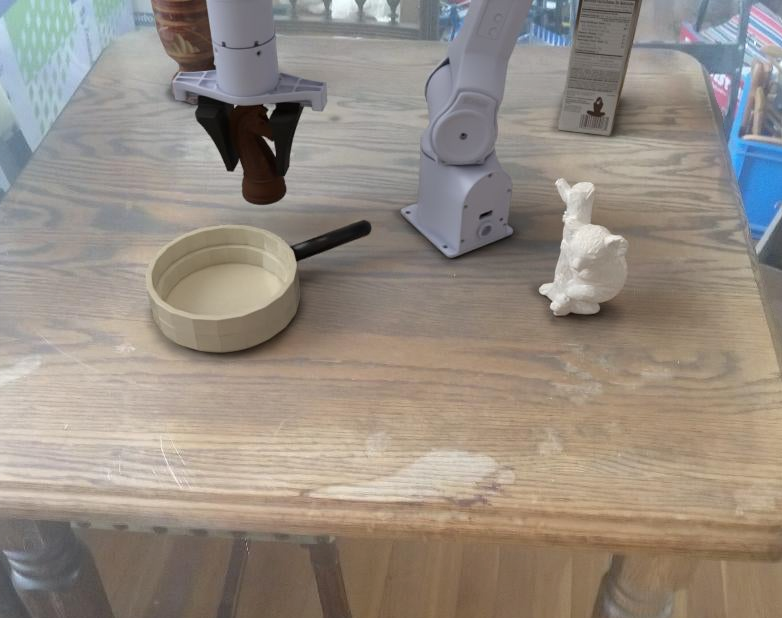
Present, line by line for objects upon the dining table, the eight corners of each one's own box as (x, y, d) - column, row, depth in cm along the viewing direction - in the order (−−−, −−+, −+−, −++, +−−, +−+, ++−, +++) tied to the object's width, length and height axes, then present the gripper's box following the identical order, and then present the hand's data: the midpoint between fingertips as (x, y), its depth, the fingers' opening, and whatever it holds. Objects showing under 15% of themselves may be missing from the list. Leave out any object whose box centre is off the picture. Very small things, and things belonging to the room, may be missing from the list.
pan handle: (288, 268, 83) (287, 255, 82) (281, 259, 84) (280, 246, 83) (374, 236, 86) (374, 222, 85) (366, 228, 87) (366, 214, 86)
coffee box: (567, 93, 108) (590, -43, 96) (620, 99, 106) (650, -39, 94) (556, 131, 102) (579, -10, 90) (612, 137, 100) (643, -5, 88)
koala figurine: (515, 290, 83) (532, 182, 74) (572, 268, 85) (595, 160, 76) (571, 343, 78) (596, 233, 69) (630, 318, 79) (662, 208, 70)
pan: (325, 322, 81) (323, 284, 78) (188, 377, 77) (179, 340, 74) (260, 245, 90) (256, 208, 86) (134, 291, 86) (124, 254, 82)
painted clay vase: (151, 75, 116) (118, -88, 102) (210, 59, 119) (187, -103, 104) (181, 112, 109) (150, -58, 94) (243, 94, 111) (223, -74, 97)
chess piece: (278, 208, 87) (268, 116, 80) (231, 202, 88) (217, 111, 81) (292, 183, 90) (284, 93, 83) (247, 177, 91) (235, 88, 84)
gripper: (332, 19, 78) (337, 153, 88) (182, 11, 81) (203, 141, 91) (313, 55, 74) (321, 192, 84) (155, 45, 76) (180, 178, 86)
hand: (258, 168), depth 87 cm, fingers closed on chess piece, 5 cm apart
